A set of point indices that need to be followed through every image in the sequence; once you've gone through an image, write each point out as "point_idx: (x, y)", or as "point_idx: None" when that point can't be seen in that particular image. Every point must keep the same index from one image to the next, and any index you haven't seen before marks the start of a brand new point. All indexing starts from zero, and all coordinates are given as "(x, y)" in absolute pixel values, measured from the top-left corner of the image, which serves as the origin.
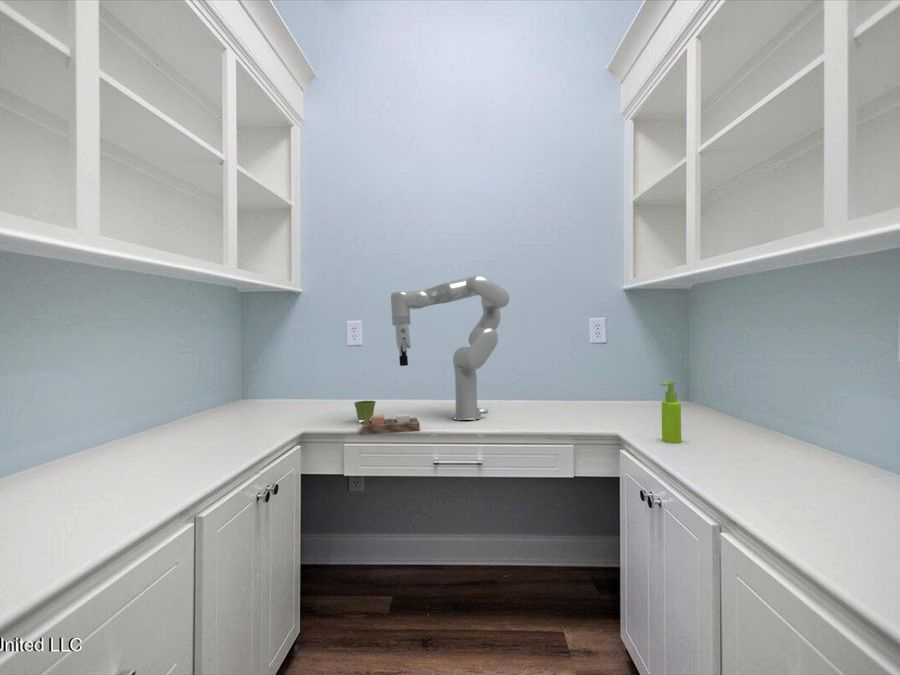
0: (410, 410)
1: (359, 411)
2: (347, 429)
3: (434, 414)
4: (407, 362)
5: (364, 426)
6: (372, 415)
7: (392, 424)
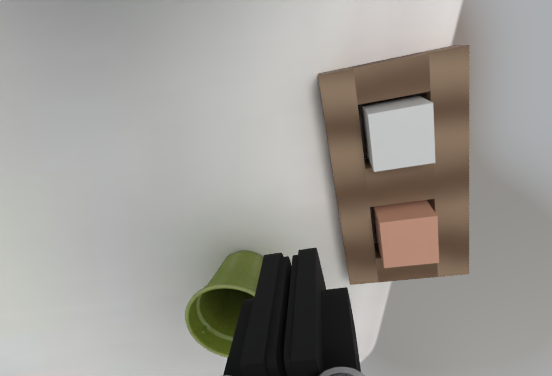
0: (3, 131)
1: None
2: (363, 308)
3: (75, 2)
4: (314, 272)
5: (468, 267)
6: (248, 263)
7: (461, 170)
